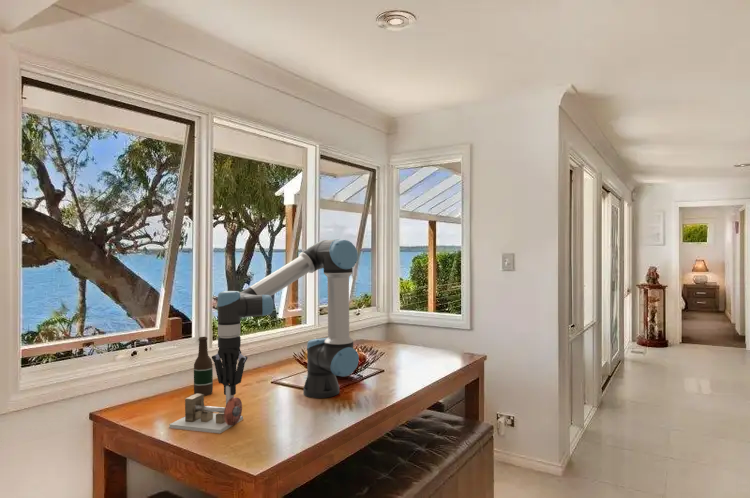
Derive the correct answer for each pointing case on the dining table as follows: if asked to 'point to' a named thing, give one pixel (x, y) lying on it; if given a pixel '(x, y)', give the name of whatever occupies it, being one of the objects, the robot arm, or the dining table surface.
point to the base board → (202, 425)
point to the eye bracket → (194, 415)
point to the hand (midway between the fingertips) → (230, 404)
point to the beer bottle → (203, 370)
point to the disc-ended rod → (226, 410)
